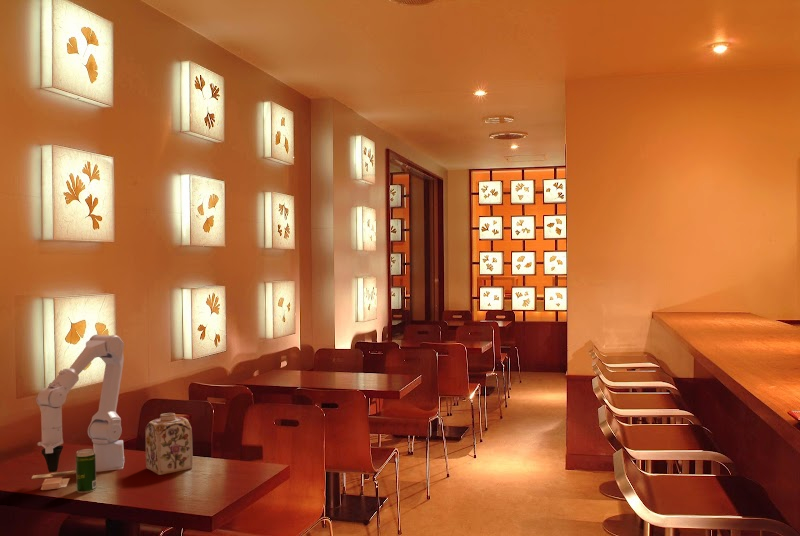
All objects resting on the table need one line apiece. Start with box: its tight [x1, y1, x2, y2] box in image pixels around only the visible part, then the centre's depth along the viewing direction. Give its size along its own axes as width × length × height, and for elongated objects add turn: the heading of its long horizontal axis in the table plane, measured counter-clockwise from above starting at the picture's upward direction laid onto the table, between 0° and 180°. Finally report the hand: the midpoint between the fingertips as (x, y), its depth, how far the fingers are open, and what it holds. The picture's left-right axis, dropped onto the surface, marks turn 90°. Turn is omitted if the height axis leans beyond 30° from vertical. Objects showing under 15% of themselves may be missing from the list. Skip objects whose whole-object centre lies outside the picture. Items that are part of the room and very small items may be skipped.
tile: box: [41, 476, 63, 491], centre depth 218 cm, size 2×5×6 cm
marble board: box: [40, 477, 71, 491], centre depth 221 cm, size 7×10×1 cm
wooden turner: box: [30, 470, 76, 480], centre depth 231 cm, size 12×4×1 cm, turn 109°
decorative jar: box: [144, 412, 194, 476], centre depth 236 cm, size 12×12×18 cm
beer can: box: [75, 448, 97, 494], centre depth 214 cm, size 5×5×12 cm
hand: (53, 471), depth 221 cm, fingers closed
